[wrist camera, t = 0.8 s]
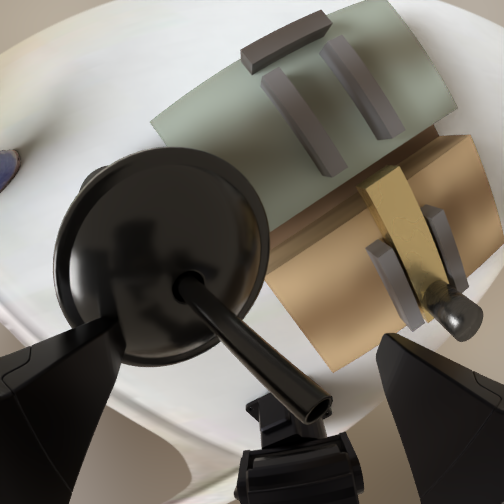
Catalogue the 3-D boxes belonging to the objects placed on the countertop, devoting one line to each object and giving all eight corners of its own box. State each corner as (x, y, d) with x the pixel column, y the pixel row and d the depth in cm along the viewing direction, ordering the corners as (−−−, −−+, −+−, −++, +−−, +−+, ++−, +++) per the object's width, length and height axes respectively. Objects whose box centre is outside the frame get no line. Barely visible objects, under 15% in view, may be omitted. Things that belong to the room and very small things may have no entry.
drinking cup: (115, 122, 18) (397, 57, 3) (178, 197, 23) (438, 328, 8) (38, 201, 17) (-14, 498, 1) (109, 269, 21) (266, 519, 6)
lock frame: (469, 227, 22) (521, 249, 15) (319, 336, 25) (339, 390, 18) (358, 21, 17) (394, -19, 11) (170, 130, 20) (137, 117, 13)
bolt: (442, 292, 18) (487, 328, 13) (417, 312, 19) (457, 353, 13) (386, 165, 16) (439, 169, 11) (355, 186, 16) (399, 198, 11)
